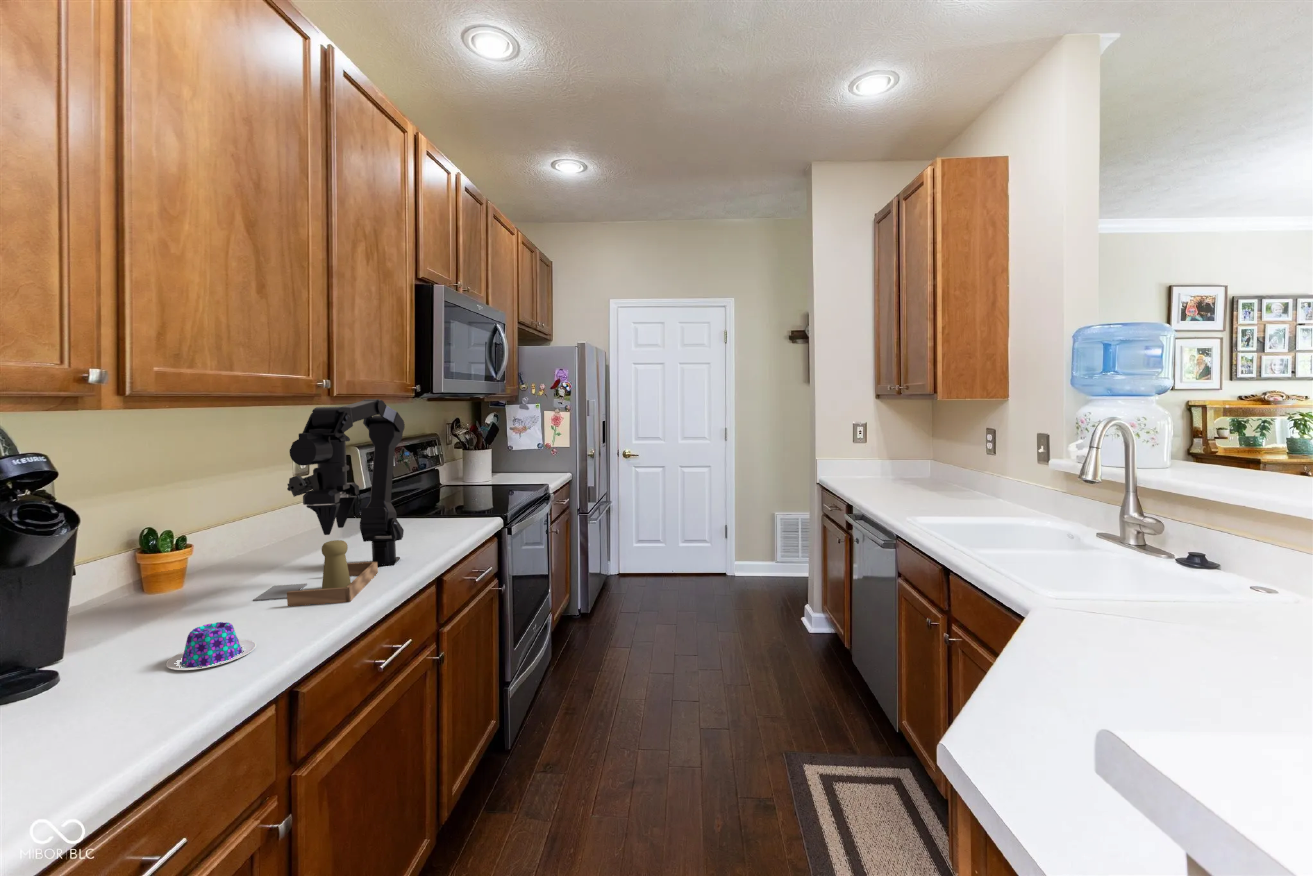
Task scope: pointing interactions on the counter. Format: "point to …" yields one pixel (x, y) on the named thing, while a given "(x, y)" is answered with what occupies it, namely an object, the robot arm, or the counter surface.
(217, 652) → the patterned hat
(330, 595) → the wooden u-shaped frame
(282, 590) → the grey mat
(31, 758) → the counter surface
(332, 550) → the cork
